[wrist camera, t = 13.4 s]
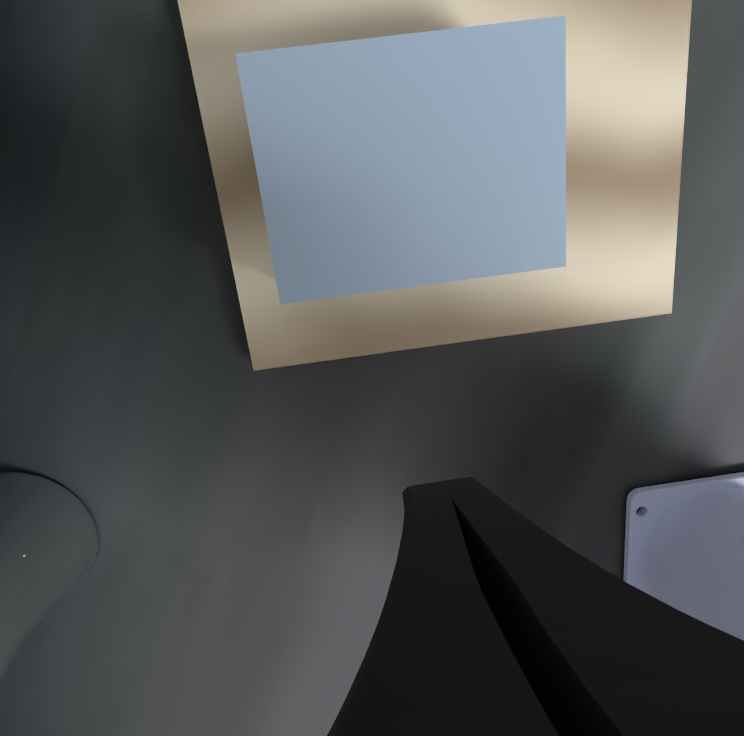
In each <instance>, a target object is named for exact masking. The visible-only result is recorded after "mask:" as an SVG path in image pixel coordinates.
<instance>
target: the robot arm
mask: <svg viewBox="0 0 744 736" xmlns="http://www.w3.org/2000/svg"><path fill="white" fill-rule="evenodd" d="M403 501H404V509H405V513H404V523H403V532H402V537H401V542H400V547H399V553H398V558H397V562H396V566H395V569H394V573H393V576H392V580H391V584H390V587H389V591H388V594H387V598H386V601H385V604H384V607H383V610H382V613H381V616H380V619H379V621H378V624H377V627H376V630H375V632H374V635H373V637H372V640H371V642H370V645H369V647H368V650H367V652H366V655H365V657H364V659H363V662H362V664H361V666H360V668H359V671H358V673H357V675H356V677H355V680H354V682H353V684H352V686H351V688H350V691H349V693H348V695H347V697H346V699H345V701H344V703H343V706H342V708H341V710H340V712H339V714H338V716H337V718H336V720H335V722H334V724H333V726H332V728H331V730H330V731H329V733H328V735H327V736H744V472H740V473H734V474H727V475H720V476H714V477H707V478H700V479H694V480H687V481H680V482H674V483H667V484H660V485H654V486H647V487H640V488H636V489H633V490H632V491H631V492H630V493H629V494H628V496H627V505H626V529H625V554H624V578H623V580H621V579H619V578H618V577H616V576H614V575H612V574H611V573H609V572H607V571H605V570H604V569H602V568H601V567H599V566H597V565H596V564H594V563H592V562H591V561H589V560H588V559H586V558H584V557H583V556H581V555H580V554H578V553H576V552H575V551H573V550H572V549H570V548H568V547H567V546H565V545H564V544H562V543H561V542H559V541H558V540H556V539H555V538H553V537H552V536H550V535H549V534H548V533H546V532H545V531H543V530H542V529H540V528H539V527H537V526H536V525H535V524H533V523H532V522H530V521H529V520H528V519H526V518H525V517H524V516H522V515H521V514H519V513H518V512H517V511H515V510H514V509H513V508H511V507H510V506H509V505H508V504H506V503H505V502H504V501H502V500H501V499H500V498H498V497H497V496H496V495H494V494H493V493H492V492H491V491H489V490H488V489H487V488H485V487H484V486H483V485H482V484H480V483H479V482H478V481H476V480H475V479H474V478H472V477H468V478H461V479H455V480H448V481H441V482H434V483H427V484H421V485H414V486H408V487H407V488H406V489H405V490H404V492H403ZM639 507H642V508H641V509H640V510H639V511H637V509H638V508H639ZM636 511H637V512H636Z"/></svg>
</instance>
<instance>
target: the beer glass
mask: <svg viewBox="0 0 744 736" xmlns="http://www.w3.org/2000/svg"><path fill="white" fill-rule="evenodd" d="M98 544H99V540H98V532H97V528H96V525H95V522H94V520H93V518H92V516H91V514H90V513H89V511H88V510H87V508H86V507H85V506H84V504H83V503H82V502H81V501H80V500H79V499H78V498H77V497H76V496H75V495H74V494H72V493H71V492H70V491H69V490H67V489H66V488H64V487H63V486H61V485H59V484H57V483H55V482H53V481H51V480H49V479H47V478H44V477H41V476H38V475H34V474H29V473H23V472H0V684H1V682H2V680H3V678H4V676H5V675H6V673H7V671H8V669H9V667H10V665H11V664H12V662H13V660H14V658H15V656H16V654H17V653H18V651H19V650H20V648H21V647H22V645H23V644H24V642H25V641H26V639H27V638H28V636H29V635H30V633H31V632H32V631H33V629H34V628H35V627H36V626H37V625H38V623H39V622H40V621H41V620H42V619H43V618H44V617H45V616H46V614H47V613H48V612H49V611H50V610H51V609H52V608H54V607H55V606H56V605H57V604H58V603H59V602H60V601H61V600H62V599H63V598H64V597H66V596H67V595H68V594H69V593H70V592H71V591H72V590H73V589H74V588H75V587H76V586H77V585H78V584H79V583H80V582H81V581H82V580H83V579H84V578H85V577H86V575H87V574H88V573H89V571H90V570H91V568H92V566H93V564H94V562H95V559H96V556H97V552H98Z"/></svg>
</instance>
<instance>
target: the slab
mask: <svg viewBox="0 0 744 736" xmlns="http://www.w3.org/2000/svg"><path fill="white" fill-rule="evenodd" d="M235 55H236V61H237V67H238V72H239V78H240V83H241V89H242V94H243V100H244V105H245V111H246V116H247V122H248V128H249V133H250V139H251V144H252V150H253V155H254V161H255V166H256V172H257V177H258V183H259V189H260V194H261V200H262V205H263V211H264V216H265V222H266V227H267V233H268V238H269V244H270V249H271V255H272V261H273V266H274V272H275V277H276V283H277V288H278V294H279V299H280V304H288V303H295V302H303V301H310V300H318V299H325V298H333V297H340V296H348V295H355V294H363V293H370V292H378V291H385V290H393V289H400V288H408V287H415V286H423V285H430V284H438V283H445V282H453V281H460V280H468V279H475V278H483V277H490V276H498V275H505V274H513V273H520V272H528V271H535V270H543V269H550V268H558V267H565V266H566V16H557V17H549V18H540V19H531V20H523V21H514V22H505V23H496V24H488V25H479V26H470V27H462V28H453V29H444V30H435V31H427V32H418V33H409V34H401V35H392V36H383V37H374V38H366V39H357V40H348V41H340V42H331V43H322V44H314V45H305V46H296V47H287V48H279V49H270V50H261V51H253V52H244V53H235Z"/></svg>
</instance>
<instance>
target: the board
mask: <svg viewBox="0 0 744 736" xmlns="http://www.w3.org/2000/svg"><path fill="white" fill-rule="evenodd" d="M177 1H178V5H179V10H180V15H181V20H182V25H183V30H184V35H185V40H186V44H187V49H188V54H189V59H190V64H191V69H192V74H193V78H194V83H195V88H196V93H197V98H198V103H199V108H200V112H201V117H202V122H203V127H204V132H205V137H206V142H207V146H208V151H209V156H210V161H211V166H212V171H213V176H214V181H215V185H216V190H217V195H218V200H219V205H220V210H221V215H222V219H223V224H224V229H225V234H226V239H227V244H228V249H229V253H230V258H231V263H232V268H233V273H234V278H235V283H236V288H237V292H238V297H239V302H240V307H241V312H242V317H243V322H244V326H245V331H246V336H247V341H248V346H249V351H250V356H251V360H252V365H253V370H254V371H255V370H262V369H269V368H277V367H284V366H291V365H298V364H306V363H313V362H320V361H327V360H335V359H342V358H349V357H356V356H364V355H371V354H378V353H385V352H393V351H400V350H407V349H415V348H422V347H429V346H436V345H444V344H451V343H458V342H465V341H473V340H480V339H487V338H494V337H502V336H509V335H516V334H524V333H531V332H538V331H545V330H553V329H560V328H567V327H574V326H582V325H589V324H596V323H603V322H611V321H618V320H625V319H632V318H640V317H647V316H654V315H662V314H669V313H672V300H673V284H674V269H675V253H676V238H677V222H678V207H679V191H680V175H681V160H682V144H683V129H684V113H685V98H686V82H687V67H688V51H689V36H690V20H691V5H692V0H177ZM557 16H566V266H565V267H558V268H550V269H543V270H535V271H528V272H520V273H513V274H505V275H498V276H490V277H483V278H475V279H468V280H460V281H453V282H445V283H438V284H430V285H423V286H415V287H408V288H400V289H393V290H385V291H378V292H370V293H363V294H355V295H348V296H340V297H333V298H325V299H318V300H310V301H303V302H295V303H288V304H280V299H279V294H278V288H277V283H276V277H275V272H274V266H273V261H272V255H271V249H270V244H269V238H268V233H267V227H266V222H265V216H264V211H263V205H262V200H261V194H260V189H259V183H258V177H257V172H256V166H255V161H254V155H253V150H252V144H251V139H250V133H249V128H248V122H247V116H246V111H245V105H244V100H243V94H242V89H241V83H240V78H239V72H238V67H237V61H236V55H235V53H244V52H253V51H261V50H270V49H279V48H287V47H296V46H305V45H314V44H322V43H331V42H340V41H348V40H357V39H366V38H374V37H383V36H392V35H401V34H409V33H418V32H427V31H435V30H444V29H453V28H462V27H470V26H479V25H488V24H496V23H505V22H514V21H523V20H531V19H540V18H549V17H557Z"/></svg>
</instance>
